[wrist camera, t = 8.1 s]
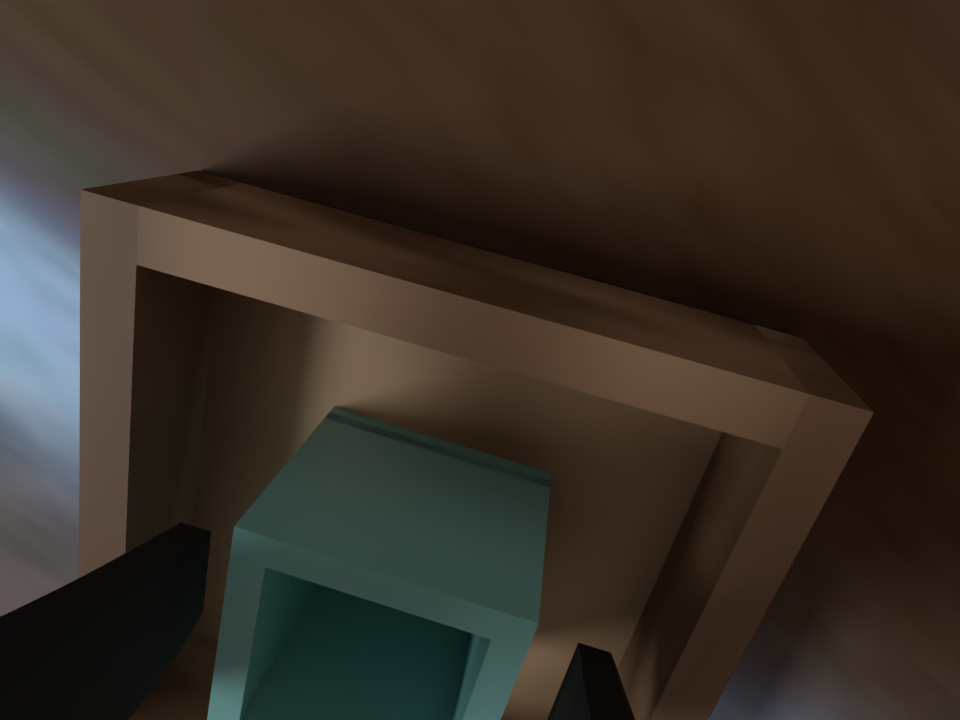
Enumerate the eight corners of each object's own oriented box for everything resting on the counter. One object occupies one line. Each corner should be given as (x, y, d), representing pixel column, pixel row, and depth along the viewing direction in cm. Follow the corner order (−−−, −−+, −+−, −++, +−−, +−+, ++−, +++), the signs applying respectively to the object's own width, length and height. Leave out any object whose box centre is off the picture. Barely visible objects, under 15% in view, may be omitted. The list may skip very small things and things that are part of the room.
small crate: (300, 578, 16) (204, 738, 12) (334, 406, 14) (234, 526, 10) (491, 639, 16) (459, 823, 12) (551, 473, 14) (538, 623, 10)
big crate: (165, 625, 19) (78, 732, 16) (197, 170, 14) (80, 189, 11) (603, 761, 18) (608, 902, 15) (802, 337, 13) (874, 412, 10)
